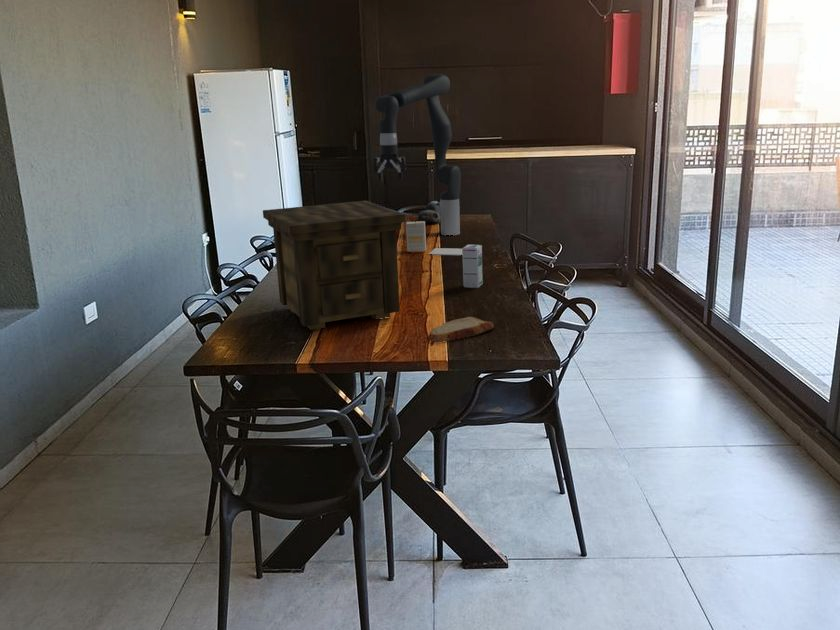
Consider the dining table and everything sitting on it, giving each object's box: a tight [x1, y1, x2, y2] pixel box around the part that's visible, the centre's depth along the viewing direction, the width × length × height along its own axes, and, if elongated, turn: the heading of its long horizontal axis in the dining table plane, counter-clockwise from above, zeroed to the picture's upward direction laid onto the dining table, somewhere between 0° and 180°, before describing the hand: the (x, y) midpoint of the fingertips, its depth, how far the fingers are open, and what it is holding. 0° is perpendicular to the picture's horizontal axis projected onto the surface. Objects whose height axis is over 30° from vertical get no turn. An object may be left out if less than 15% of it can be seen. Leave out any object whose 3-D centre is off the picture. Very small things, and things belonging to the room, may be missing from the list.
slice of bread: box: [428, 316, 495, 343], centre depth 211 cm, size 18×18×4 cm
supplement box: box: [405, 221, 427, 253], centre depth 320 cm, size 8×5×13 cm, turn 84°
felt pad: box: [428, 247, 462, 256], centre depth 318 cm, size 12×18×1 cm, turn 75°
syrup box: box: [461, 244, 484, 289], centre depth 260 cm, size 6×6×14 cm
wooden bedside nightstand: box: [262, 200, 407, 331], centre depth 230 cm, size 35×35×33 cm
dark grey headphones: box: [415, 200, 441, 224], centre depth 390 cm, size 15×12×14 cm
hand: (390, 181), depth 324 cm, fingers open, 8 cm apart
